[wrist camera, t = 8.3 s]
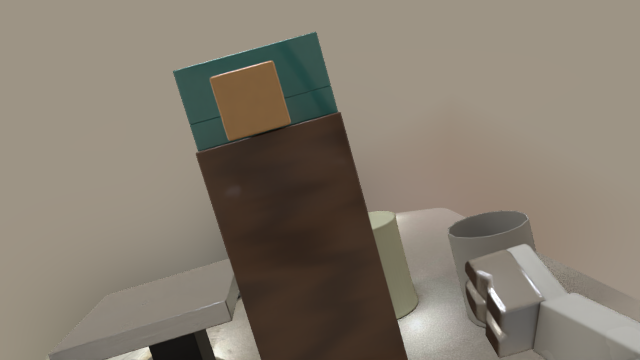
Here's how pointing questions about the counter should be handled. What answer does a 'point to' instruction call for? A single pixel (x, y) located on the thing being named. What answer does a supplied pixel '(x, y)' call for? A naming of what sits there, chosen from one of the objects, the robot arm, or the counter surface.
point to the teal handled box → (256, 91)
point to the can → (393, 262)
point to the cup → (486, 240)
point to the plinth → (302, 244)
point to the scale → (157, 318)
